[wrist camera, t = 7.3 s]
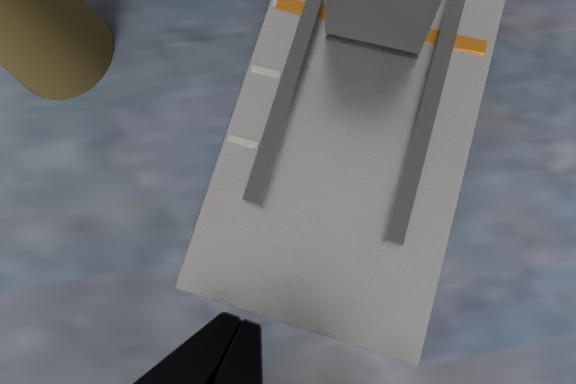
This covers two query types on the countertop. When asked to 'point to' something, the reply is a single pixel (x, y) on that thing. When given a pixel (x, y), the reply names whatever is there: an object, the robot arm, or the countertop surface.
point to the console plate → (343, 176)
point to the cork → (54, 46)
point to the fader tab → (382, 21)
